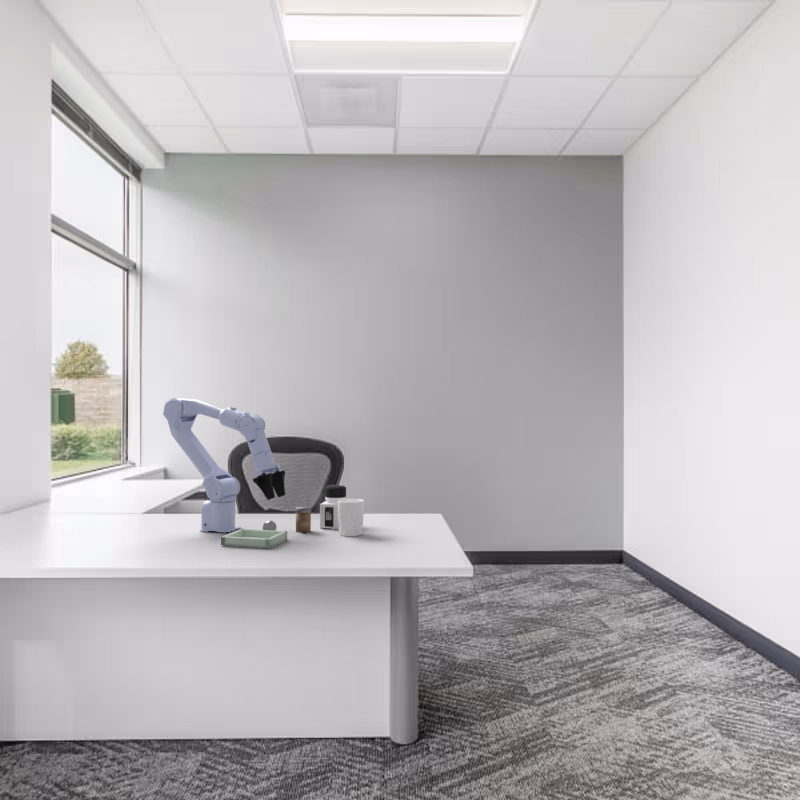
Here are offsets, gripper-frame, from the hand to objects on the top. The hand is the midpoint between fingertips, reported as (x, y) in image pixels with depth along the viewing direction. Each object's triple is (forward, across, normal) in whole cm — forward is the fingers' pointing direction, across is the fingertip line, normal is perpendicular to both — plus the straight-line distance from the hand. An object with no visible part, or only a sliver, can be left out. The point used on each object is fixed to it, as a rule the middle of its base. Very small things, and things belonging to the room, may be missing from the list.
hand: (276, 497), depth 187 cm
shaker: (+12, +7, -2) cm, 14 cm away
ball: (+9, 0, +6) cm, 11 cm away
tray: (+10, -12, +5) cm, 16 cm away
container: (+15, +16, -8) cm, 23 cm away
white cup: (+18, +6, -15) cm, 24 cm away
